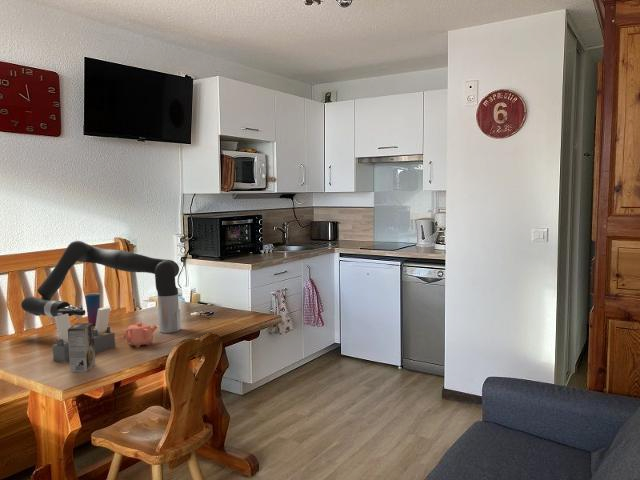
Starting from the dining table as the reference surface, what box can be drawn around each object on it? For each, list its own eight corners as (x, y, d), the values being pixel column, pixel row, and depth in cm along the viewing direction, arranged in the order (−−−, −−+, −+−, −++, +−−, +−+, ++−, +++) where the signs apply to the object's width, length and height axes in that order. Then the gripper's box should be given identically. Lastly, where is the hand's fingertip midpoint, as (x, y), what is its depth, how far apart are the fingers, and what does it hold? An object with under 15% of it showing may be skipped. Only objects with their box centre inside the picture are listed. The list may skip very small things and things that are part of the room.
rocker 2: (94, 333, 225) (97, 308, 223) (104, 330, 229) (107, 306, 227) (96, 335, 224) (100, 310, 222) (106, 332, 229) (110, 307, 226)
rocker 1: (60, 344, 211) (54, 316, 211) (71, 341, 215) (65, 314, 216) (63, 343, 210) (56, 315, 211) (74, 340, 214) (68, 313, 215)
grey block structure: (53, 359, 211) (52, 338, 211) (103, 344, 233) (102, 325, 232) (65, 362, 208) (63, 340, 207) (115, 346, 229) (114, 326, 228)
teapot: (158, 341, 237) (157, 319, 236) (148, 348, 225) (147, 325, 224) (132, 341, 237) (131, 319, 236) (121, 348, 225) (120, 325, 225)
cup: (104, 322, 273) (102, 293, 271) (94, 326, 266) (93, 296, 265) (93, 322, 275) (91, 293, 274) (83, 325, 269) (81, 295, 267)
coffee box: (78, 364, 205) (76, 322, 204) (95, 363, 205) (93, 322, 204) (69, 372, 196) (66, 328, 194) (87, 371, 196) (85, 328, 195)
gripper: (43, 303, 233) (69, 307, 225) (70, 298, 244) (96, 301, 236) (44, 320, 233) (70, 324, 225) (71, 314, 245) (97, 318, 237)
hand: (83, 312), depth 231 cm, fingers closed
